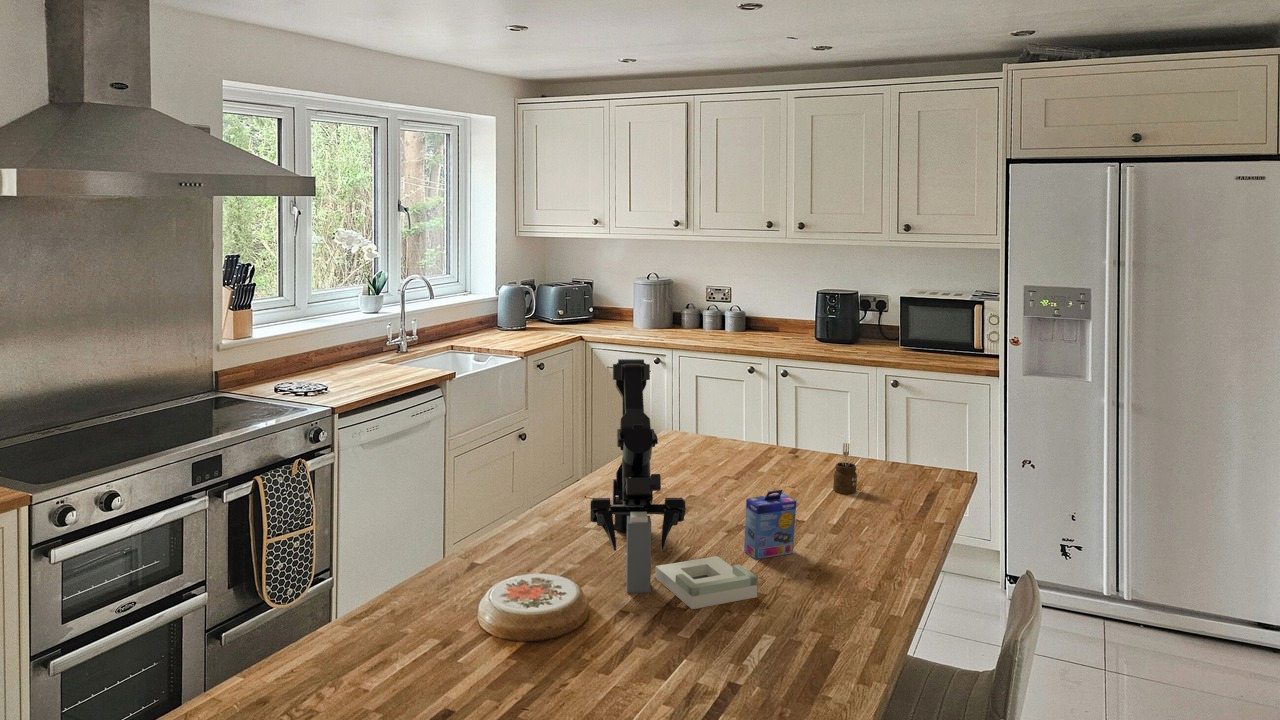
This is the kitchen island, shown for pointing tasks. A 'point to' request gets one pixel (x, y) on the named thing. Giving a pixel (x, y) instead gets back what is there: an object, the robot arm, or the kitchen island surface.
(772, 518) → the ink cartridge box
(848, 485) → the utensil holder
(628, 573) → the plug
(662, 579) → the socket box
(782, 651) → the kitchen island surface
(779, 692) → the kitchen island surface
